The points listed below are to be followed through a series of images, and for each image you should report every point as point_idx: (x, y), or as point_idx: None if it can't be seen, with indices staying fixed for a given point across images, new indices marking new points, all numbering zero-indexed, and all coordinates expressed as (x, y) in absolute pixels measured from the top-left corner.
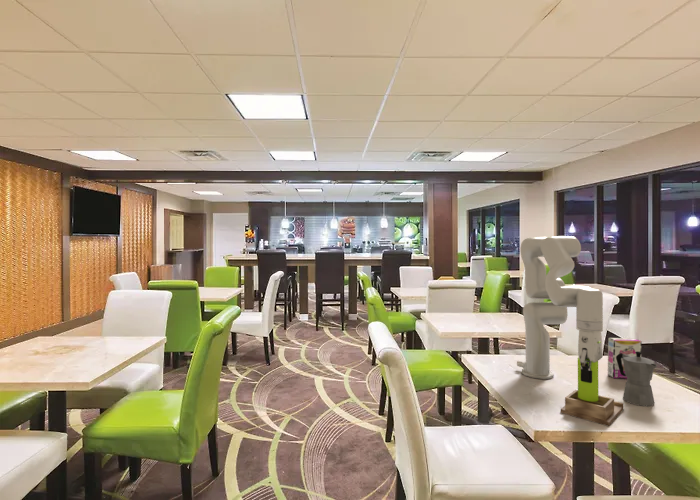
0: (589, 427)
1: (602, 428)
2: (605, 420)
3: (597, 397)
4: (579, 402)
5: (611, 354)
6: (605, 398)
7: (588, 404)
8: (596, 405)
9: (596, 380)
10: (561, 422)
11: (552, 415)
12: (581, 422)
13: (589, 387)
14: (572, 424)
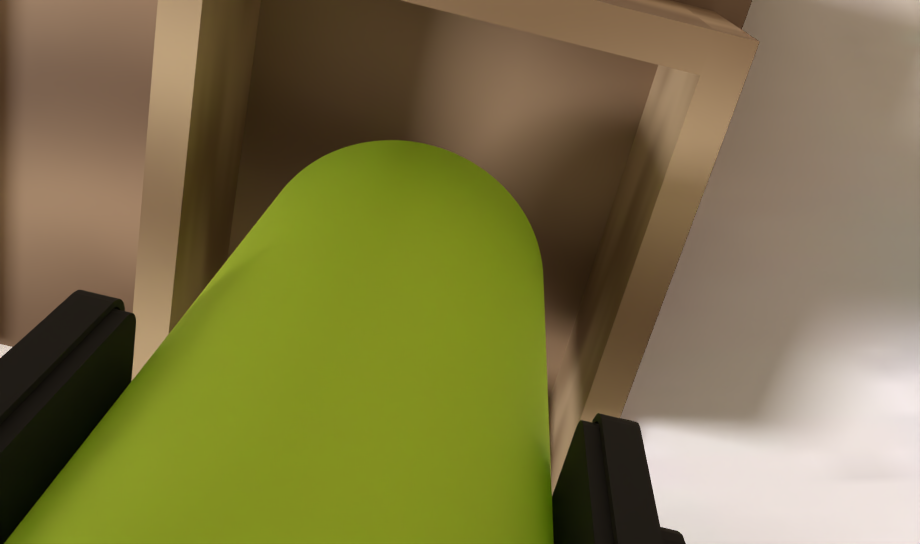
0: (897, 175)
1: (865, 35)
2: (714, 7)
3: (450, 171)
4: (630, 374)
5: None
6: (205, 32)
7: (670, 268)
8: (710, 168)
9: (444, 336)
10: (870, 433)
11: (704, 512)
12: (773, 257)
13: (542, 378)
14: (881, 338)
